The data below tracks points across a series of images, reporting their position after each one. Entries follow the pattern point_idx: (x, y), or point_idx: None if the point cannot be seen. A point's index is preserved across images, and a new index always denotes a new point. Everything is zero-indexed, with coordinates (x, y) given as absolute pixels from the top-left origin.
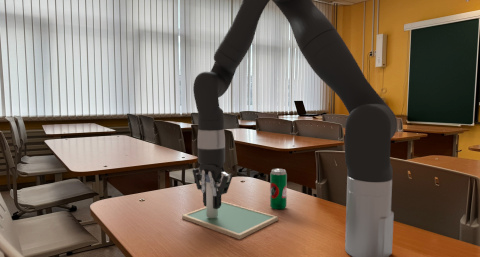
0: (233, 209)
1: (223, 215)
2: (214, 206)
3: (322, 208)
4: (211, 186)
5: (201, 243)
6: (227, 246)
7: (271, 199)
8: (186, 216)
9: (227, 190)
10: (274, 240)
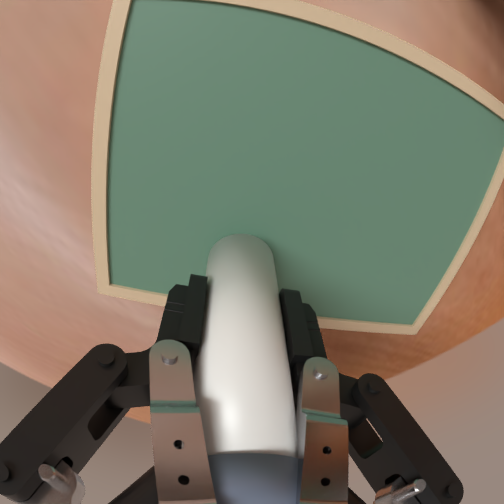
0: (284, 70)
1: (278, 196)
2: None
3: None
4: None
5: None
6: (384, 363)
7: None
8: (124, 297)
9: (393, 396)
10: (496, 282)
